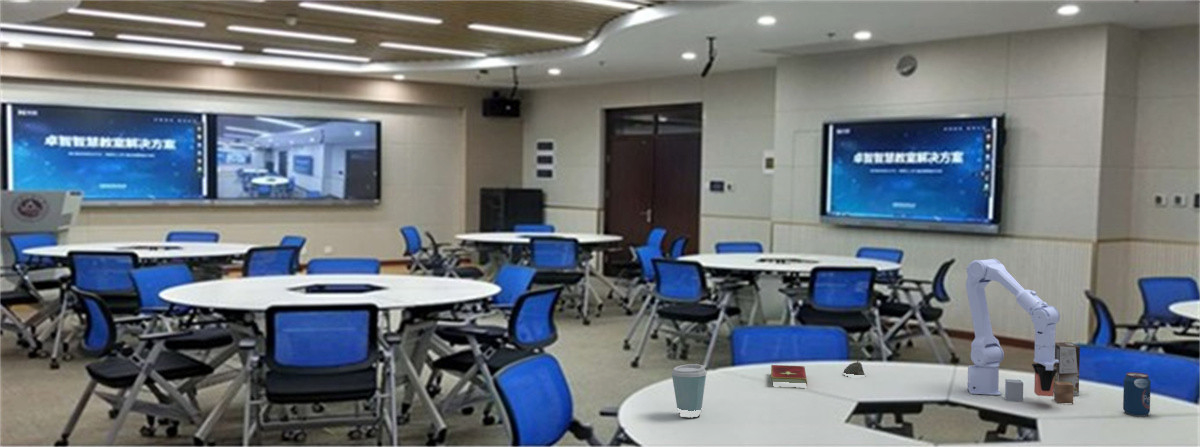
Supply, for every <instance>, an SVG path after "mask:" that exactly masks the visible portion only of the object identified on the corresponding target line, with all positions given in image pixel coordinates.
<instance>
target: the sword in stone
mask: <svg viewBox="0 0 1200 447" xmlns="http://www.w3.org/2000/svg"><path fill="white" fill-rule="evenodd" d="M861 349H862V345H859V351H858V353H857V356H856V357H857V362H852V363H850V364H849V365H848V366H846V367H845V368H844V370H843V373H846V374H854V375H865V372H864V368H863V365H862V363H861V362H859V359H860V356H861ZM865 376H866V375H865Z"/></svg>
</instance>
